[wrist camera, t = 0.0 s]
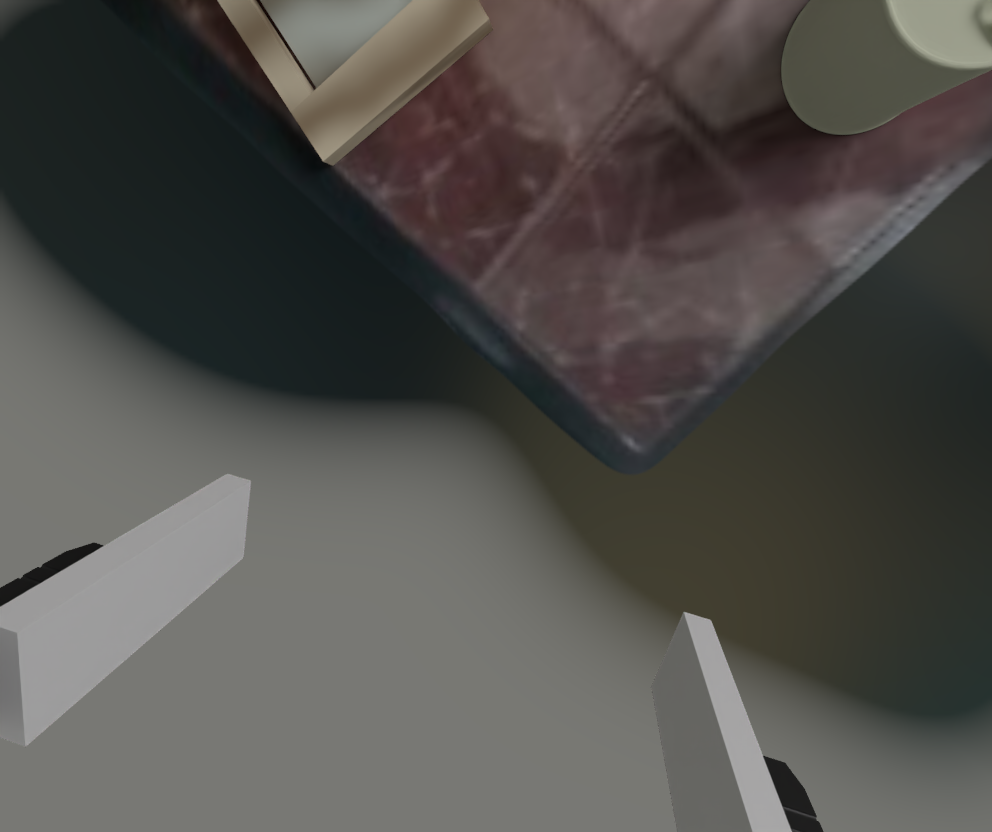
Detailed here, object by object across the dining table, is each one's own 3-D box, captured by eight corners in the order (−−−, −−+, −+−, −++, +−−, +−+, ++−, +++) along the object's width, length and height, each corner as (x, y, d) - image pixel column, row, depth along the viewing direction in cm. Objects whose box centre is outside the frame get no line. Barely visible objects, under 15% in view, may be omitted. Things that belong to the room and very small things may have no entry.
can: (796, 158, 34) (906, 103, 23) (765, 11, 32) (869, -129, 21) (950, 98, 32) (1156, 5, 21) (927, -63, 30) (1141, -264, 19)
